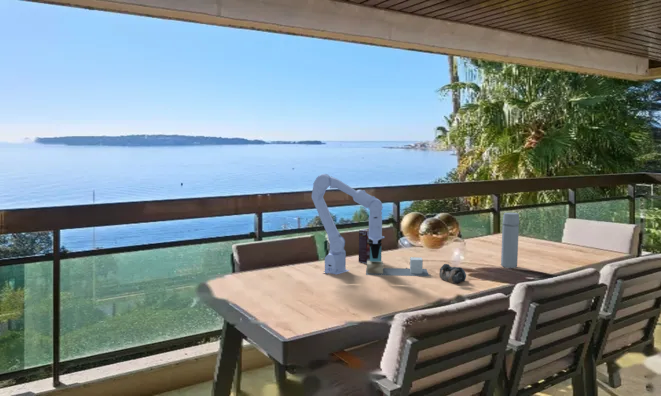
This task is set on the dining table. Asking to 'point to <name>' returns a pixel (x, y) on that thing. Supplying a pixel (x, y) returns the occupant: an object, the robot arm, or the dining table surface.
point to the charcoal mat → (399, 272)
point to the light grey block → (416, 265)
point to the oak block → (375, 267)
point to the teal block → (374, 258)
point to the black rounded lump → (452, 274)
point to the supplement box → (364, 246)
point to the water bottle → (510, 240)
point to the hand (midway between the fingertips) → (375, 256)
